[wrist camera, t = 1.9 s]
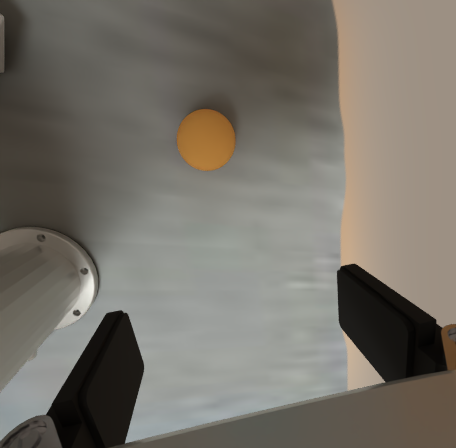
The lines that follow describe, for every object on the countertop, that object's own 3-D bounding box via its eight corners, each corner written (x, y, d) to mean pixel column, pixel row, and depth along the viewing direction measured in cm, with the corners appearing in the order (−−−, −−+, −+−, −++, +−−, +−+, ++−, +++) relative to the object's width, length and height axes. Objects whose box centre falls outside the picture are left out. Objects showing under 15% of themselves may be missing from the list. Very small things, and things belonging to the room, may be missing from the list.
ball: (223, 175, 27) (228, 180, 22) (173, 160, 26) (166, 161, 21) (238, 124, 26) (248, 116, 21) (186, 106, 25) (183, 93, 20)
